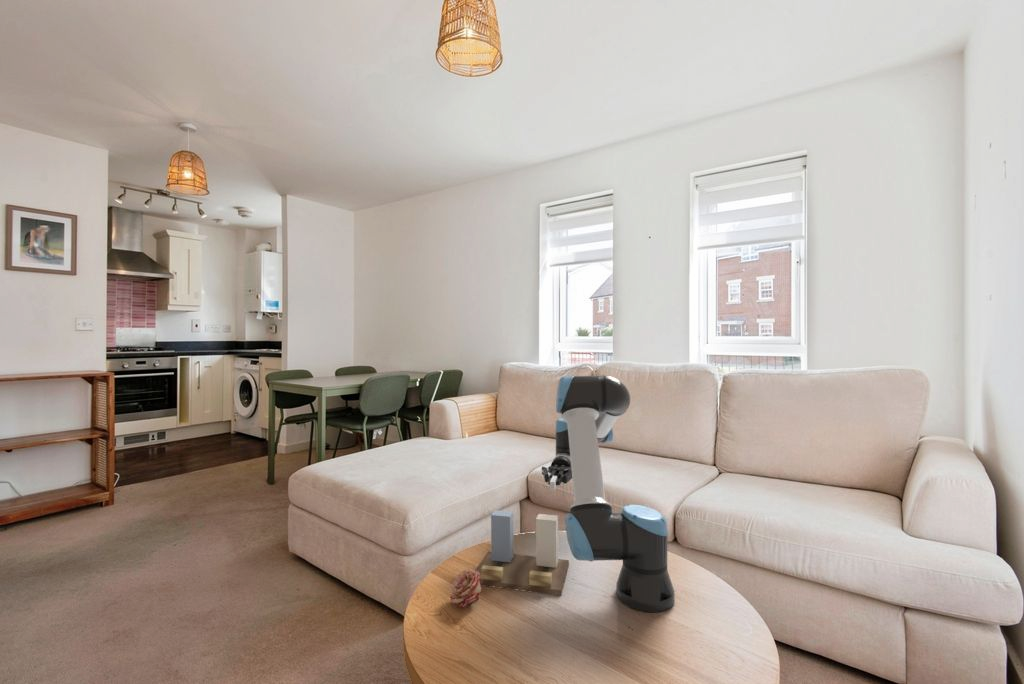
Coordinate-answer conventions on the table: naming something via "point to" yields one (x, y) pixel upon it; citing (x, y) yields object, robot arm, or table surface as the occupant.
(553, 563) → the key cream
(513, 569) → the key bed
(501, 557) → the light blue tall block
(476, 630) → the table surface
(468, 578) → the flower
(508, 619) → the table surface
